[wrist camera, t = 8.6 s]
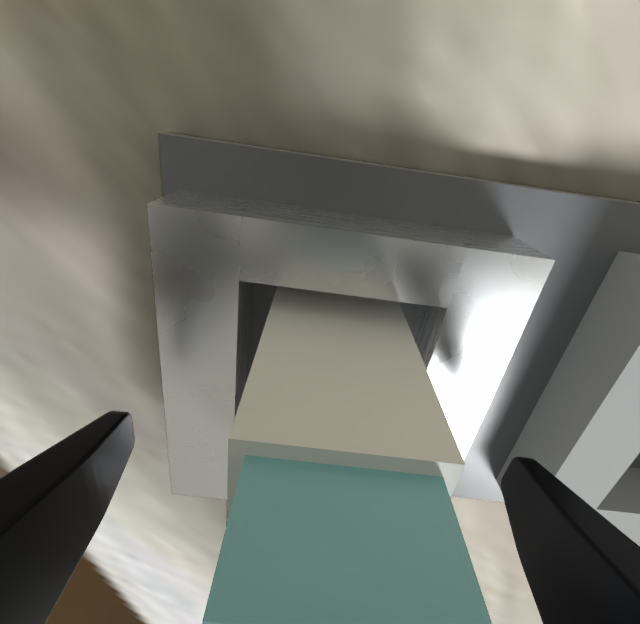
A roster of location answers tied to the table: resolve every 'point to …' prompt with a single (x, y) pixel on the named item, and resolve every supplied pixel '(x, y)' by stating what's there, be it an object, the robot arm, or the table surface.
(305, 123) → the table surface
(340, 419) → the plug
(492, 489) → the station board
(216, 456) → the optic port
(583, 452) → the grey square socket frame
